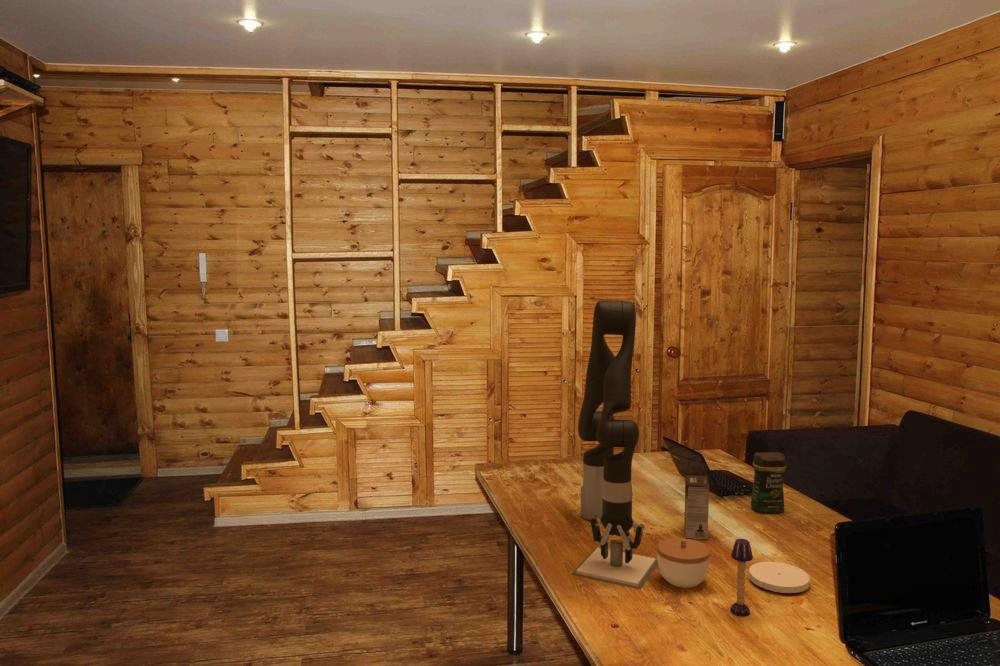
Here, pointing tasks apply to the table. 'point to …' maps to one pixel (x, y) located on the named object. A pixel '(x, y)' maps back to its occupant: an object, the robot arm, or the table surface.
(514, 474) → the table surface
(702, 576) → the lidded bowl
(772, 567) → the plastic lid
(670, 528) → the table surface
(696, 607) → the table surface
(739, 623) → the table surface
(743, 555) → the toy lamp
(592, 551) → the rubber mat
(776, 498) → the coffee jar
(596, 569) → the cover board
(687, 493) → the coffee box
